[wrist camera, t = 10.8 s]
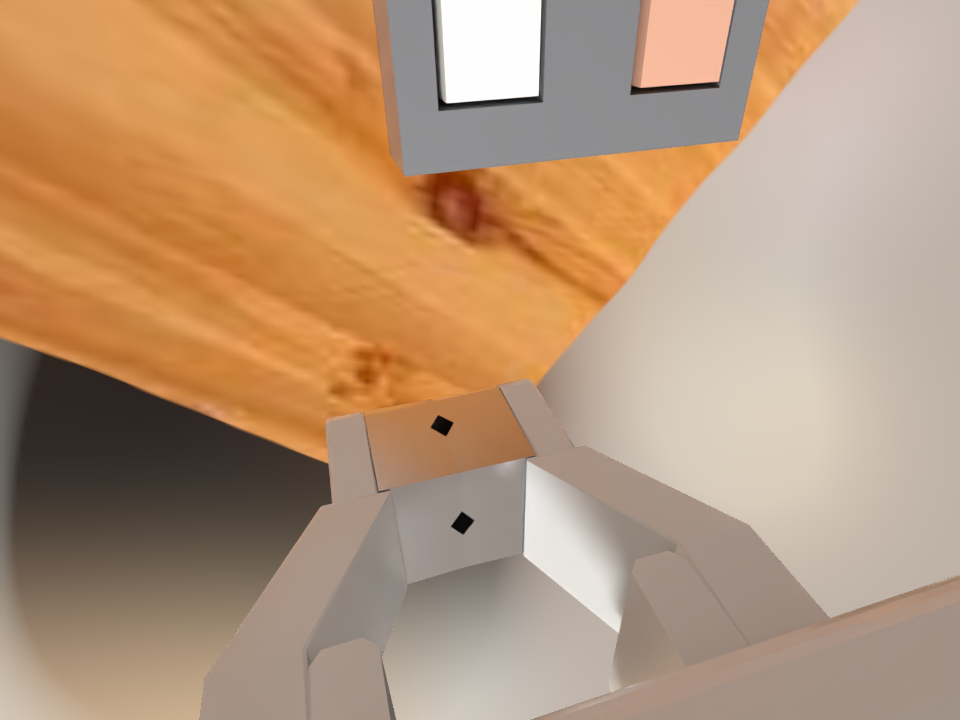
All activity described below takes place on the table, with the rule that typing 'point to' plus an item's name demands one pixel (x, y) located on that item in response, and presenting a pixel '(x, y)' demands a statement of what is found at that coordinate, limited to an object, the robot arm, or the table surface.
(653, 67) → the terracotta key
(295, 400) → the table surface
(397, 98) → the console
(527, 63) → the white key
